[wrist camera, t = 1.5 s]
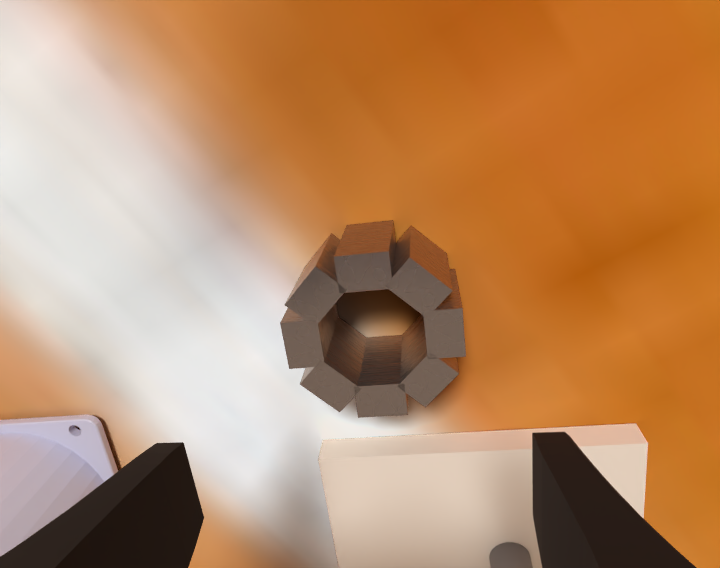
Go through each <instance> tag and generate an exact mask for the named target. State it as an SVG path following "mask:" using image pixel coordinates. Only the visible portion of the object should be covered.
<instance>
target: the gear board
mask: <svg viewBox="0 0 720 568" xmlns="http://www.w3.org/2000/svg"><path fill="white" fill-rule="evenodd" d="M537 432H566V433H567V434H568V435H569V436H570V437H571V438H572V439H573V441H574V442H575V443H576V444H577V446H578V447H579V448H580V449H581V450H582V452H583V453H584V454H585V455H586V457H587V458H588V459H589V460H590V461H591V462H592V464H593V465H594V466H595V467H596V468H597V469H598V471H599V472H600V473H601V474H602V475H603V476H604V477H605V478H606V480H607V481H608V482H609V483H610V484H611V485H612V486H613V487H614V488H615V490H616V491H617V492H618V493H619V494H620V495H621V496H622V497H623V498H624V499H625V500H626V501H627V502H628V503H629V504H630V505H631V506H632V507H633V508H634V509H635V510H636V512H637V513H638V514H639V515H640V516H641V517H642V518H644V501H645V484H646V467H647V450H648V443H647V441H646V439H645V438H644V436H643V434H642V433H641V431H640V429H639V428H638V426H637V424H636V423H635V424H616V425H596V426H577V427H558V428H539V429H520V430H500V431H481V432H462V433H443V434H424V435H404V436H385V437H366V438H347V439H328V440H323V442H322V446H321V450H320V454H319V458H318V461H319V466H320V471H321V476H322V482H323V487H324V492H325V498H326V503H327V508H328V514H329V519H330V524H331V529H332V535H333V540H334V545H335V551H336V556H337V561H338V567H339V568H542V564H541V558H540V553H539V548H538V542H537V537H536V531H535V525H534V520H533V484H532V433H537Z"/></svg>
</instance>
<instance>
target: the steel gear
mask: <svg viewBox="0 0 720 568" xmlns="http://www.w3.org/2000/svg"><path fill="white" fill-rule="evenodd" d="M383 289H389V290H390V291H392V292H393V293H394V294H396V295H397V296H398V297H400V298H401V299H402V300H404V301H405V302H406V303H407V304H409V305H410V306H411V307H413V308H414V309H415V310H417V311H418V312H419V313H421V315H420V316H419V318H418V319H417V320H416V321H415V322H414V323H413V324H412V325H411V326H410V327H409V328H408V330H407V331H406V332H405V333H404V334H403V335H397V336H384V337H371V338H366V337H365V336H364V335H362V334H361V333H359V332H358V331H357V330H355V329H354V328H353V327H351V326H350V325H349V324H347V323H346V322H345V321H343V320H342V319H340V318H339V317H338V312H337V306H336V302H337V300H338V299H339V298H340V297H341V296H342V295H343V293H349V292H360V291H372V290H383ZM285 306H287V307H288V309H287V311H286V313H285V315H284V317H283V319H282V321H281V322H280V324H281V329H282V334H283V339H284V344H285V349H286V354H287V360H288V365H289V369H293V368H305V371H304V374H303V377H302V379H301V382H300V385H302V386H303V387H305V388H306V389H307V390H309V391H310V392H312V393H313V394H314V395H316V396H317V397H319V398H320V399H322V400H323V401H324V402H326V403H327V404H329V405H330V406H332V407H333V408H334V409H336V410H337V411H339V412H340V411H341V410H342V409H343V408H344V407H345V406H346V405H347V404H348V403H349V402H350V401H351V400H352V398H353V397H354V396H355V399H356V405H357V412H358V418H359V417H376V416H394V415H408V395H409V396H411V397H412V398H413V399H415V400H416V401H417V402H419V403H420V404H422V405H423V406H424V407H426V406H427V405H428V404H429V403H430V402H431V401H432V400H433V399H434V398H435V397H436V396H437V395H438V394H439V393H440V392H441V391H442V390H443V389H444V388H445V387H446V386H447V385H448V384H449V383H450V382H451V381H452V380H453V379H454V378H455V377H456V376H457V375H458V374H459V369H458V362H457V357H465V356H466V352H465V338H464V324H463V310H462V304H461V298H460V293H459V287H458V282H457V277H456V271H455V269H449V264H448V258H447V253H445V252H444V251H443V250H441V249H440V248H439V247H438V246H436V245H435V244H434V243H433V242H431V241H430V240H429V239H428V238H426V237H425V236H424V235H422V234H421V233H420V232H419V231H417V230H416V229H415V228H414V227H412V226H410V227H409V228H408V229H407V231H406V232H405V233H404V234H403V235H402V237H401V238H400V239H399V240H398V241H397V242H396V241H395V232H394V223H393V220H392V221H382V222H372V223H363V224H353V225H347V226H346V229H345V231H344V233H343V236H342V238H341V240H339V239H338V238H337V237H336V236H334V235H333V234H332V233H331V235H330V236H329V237H328V239H327V240H326V241H325V242H324V244H323V245H322V246H321V247H320V249H319V250H318V251H317V252H316V254H315V255H314V256H313V258H312V259H311V260H310V261H309V263H308V264H307V265H306V266H305V268H304V270H303V272H302V274H301V275H300V277H299V279H298V281H297V283H296V285H295V287H294V288H293V290H292V292H291V294H290V296H289V298H288V299H287V301H286V303H285Z"/></svg>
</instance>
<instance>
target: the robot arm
mask: <svg viewBox="0 0 720 568" xmlns="http://www.w3.org/2000/svg"><path fill="white" fill-rule="evenodd" d="M74 425H75V426H77V427H79V428H80V430H79V429H77V428H76V427H75V426H74ZM532 484H533V520H534V525H535V531H536V537H537V542H538V548H539V553H540V558H541V564H542V568H696V567H695V566H694V565H693V564H692V563H690V562H689V561H688V560H687V559H686V558H685V557H684V556H683V555H681V554H680V553H679V552H678V551H677V550H676V549H675V548H674V547H673V546H672V545H671V544H669V543H668V542H667V541H666V540H665V539H664V538H663V537H662V536H661V535H660V534H659V533H658V532H657V531H656V530H655V529H654V528H653V527H652V526H650V525H649V524H648V523H647V522H646V521H645V520H644V519H643V518H642V517H641V516H640V515H639V514H638V513H637V512H636V510H635V509H634V508H633V507H632V506H631V505H630V504H629V503H628V502H627V501H626V500H625V499H624V498H623V497H622V496H621V495H620V494H619V493H618V492H617V491H616V490H615V488H614V487H613V486H612V485H611V484H610V483H609V482H608V481H607V480H606V478H605V477H604V476H603V475H602V474H601V473H600V472H599V471H598V469H597V468H596V467H595V466H594V465H593V464H592V462H591V461H590V460H589V459H588V458H587V457H586V455H585V454H584V453H583V452H582V450H581V449H580V448H579V447H578V446H577V444H576V443H575V442H574V441H573V439H572V438H571V437H570V436H569V435H568V434H567V433H566V432H537V433H532ZM203 519H204V516H203V512H202V509H201V505H200V501H199V498H198V494H197V490H196V487H195V483H194V479H193V476H192V472H191V468H190V465H189V461H188V458H187V454H186V450H185V447H184V443H156V444H155V445H153V446H152V447H150V448H149V449H147V450H146V451H145V452H143V453H142V454H140V455H139V456H138V457H136V458H135V459H134V460H132V461H131V462H130V463H128V464H127V465H126V466H124V467H123V468H122V469H120V470H119V471H118V469H117V466H116V463H115V461H114V458H113V455H112V452H111V449H110V446H109V443H108V440H107V437H106V434H105V431H104V428H103V426H102V423H101V422H100V420H99V419H98V418H97V417H95V416H92V415H74V416H58V417H41V418H25V419H9V420H0V568H188V566H189V564H190V561H191V558H192V555H193V552H194V549H195V546H196V543H197V539H198V536H199V533H200V529H201V526H202V523H203Z"/></svg>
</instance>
